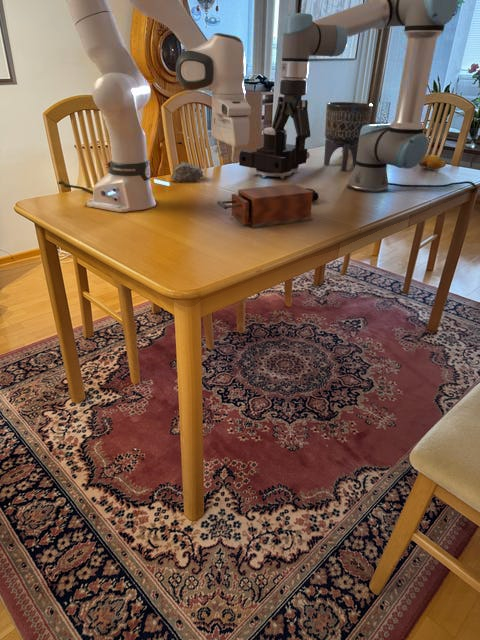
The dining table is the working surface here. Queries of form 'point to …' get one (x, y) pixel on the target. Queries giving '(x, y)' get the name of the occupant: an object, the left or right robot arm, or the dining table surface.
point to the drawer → (239, 208)
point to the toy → (432, 162)
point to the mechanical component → (272, 157)
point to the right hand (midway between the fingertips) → (288, 158)
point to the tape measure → (315, 194)
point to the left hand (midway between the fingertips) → (228, 159)
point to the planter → (345, 128)
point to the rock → (186, 173)
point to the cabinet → (278, 204)
